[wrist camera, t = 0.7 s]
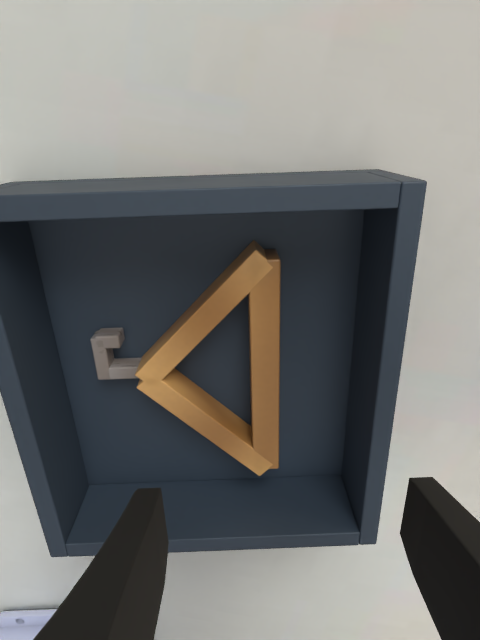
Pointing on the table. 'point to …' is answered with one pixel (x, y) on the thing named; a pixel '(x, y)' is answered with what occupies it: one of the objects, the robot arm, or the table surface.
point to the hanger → (187, 332)
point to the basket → (206, 350)
